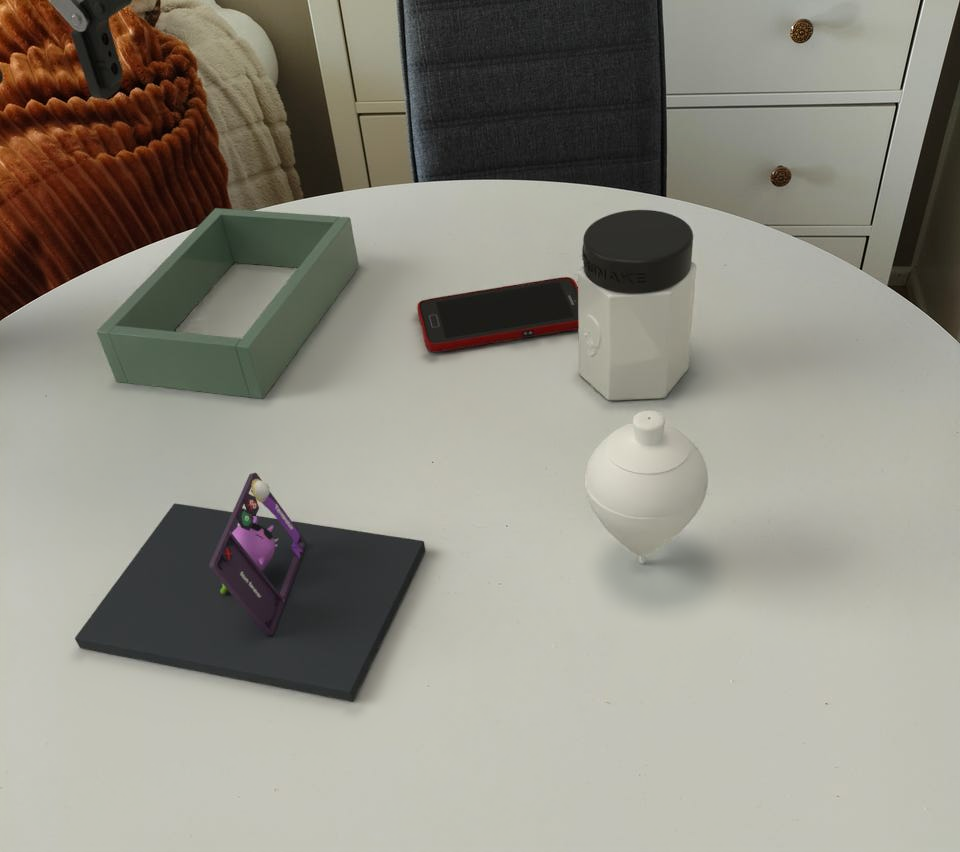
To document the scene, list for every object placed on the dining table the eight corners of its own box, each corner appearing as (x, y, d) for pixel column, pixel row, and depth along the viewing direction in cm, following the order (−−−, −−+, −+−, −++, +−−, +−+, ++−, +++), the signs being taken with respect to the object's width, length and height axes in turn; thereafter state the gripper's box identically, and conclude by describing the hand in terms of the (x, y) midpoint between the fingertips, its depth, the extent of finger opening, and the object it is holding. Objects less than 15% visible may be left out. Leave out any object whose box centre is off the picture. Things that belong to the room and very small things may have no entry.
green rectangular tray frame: (116, 381, 91) (95, 331, 87) (228, 256, 104) (215, 207, 101) (262, 399, 87) (248, 347, 83) (359, 266, 101) (350, 217, 97)
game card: (222, 562, 62) (264, 468, 68) (155, 579, 64) (201, 486, 70) (281, 634, 66) (315, 540, 72) (217, 648, 69) (255, 555, 74)
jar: (562, 363, 87) (559, 227, 78) (643, 333, 89) (649, 196, 80) (620, 416, 81) (624, 276, 72) (705, 382, 83) (719, 242, 74)
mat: (79, 648, 69) (73, 638, 68) (178, 512, 78) (174, 502, 77) (353, 702, 64) (350, 692, 63) (426, 550, 73) (424, 540, 72)
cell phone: (416, 310, 94) (415, 300, 93) (573, 284, 95) (573, 274, 94) (427, 355, 89) (426, 345, 88) (593, 328, 90) (593, 318, 89)
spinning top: (722, 558, 70) (741, 412, 61) (649, 620, 67) (658, 476, 58) (634, 510, 74) (640, 366, 65) (562, 566, 71) (558, 423, 62)
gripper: (87, -276, 51) (179, 73, 63) (-141, -266, 55) (-13, 62, 67) (-2, -247, 47) (115, 123, 59) (-245, -239, 50) (-87, 109, 62)
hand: (47, 90), depth 63 cm, fingers open, 8 cm apart
